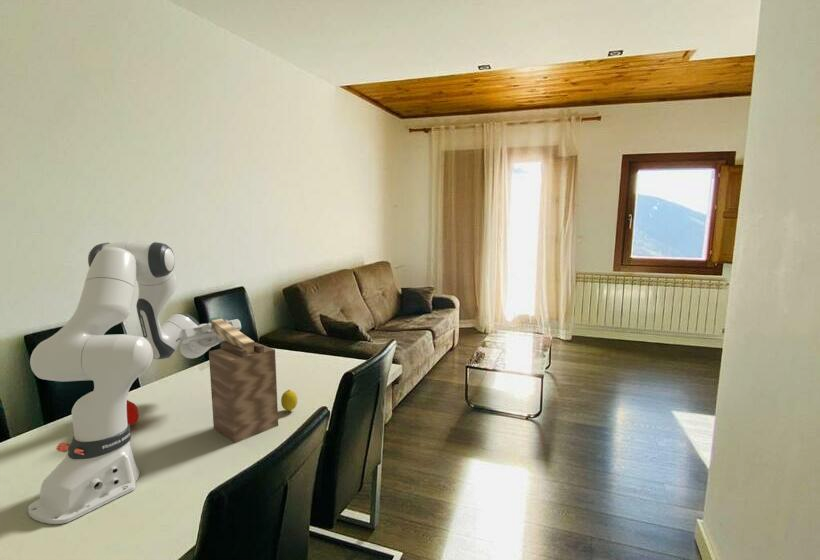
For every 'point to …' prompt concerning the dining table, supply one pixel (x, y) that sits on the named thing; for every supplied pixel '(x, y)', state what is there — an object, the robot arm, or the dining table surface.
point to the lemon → (289, 400)
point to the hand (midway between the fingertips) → (218, 323)
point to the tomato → (132, 413)
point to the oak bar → (231, 334)
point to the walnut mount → (243, 390)
